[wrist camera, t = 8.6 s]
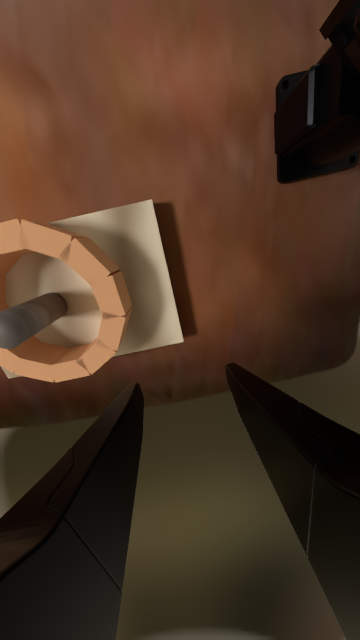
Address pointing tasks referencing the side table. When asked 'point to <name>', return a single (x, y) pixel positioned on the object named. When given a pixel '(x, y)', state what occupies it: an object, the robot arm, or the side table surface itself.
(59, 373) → the orange segmented ring
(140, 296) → the cream flat pegged piece
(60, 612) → the robot arm
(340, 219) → the side table surface
